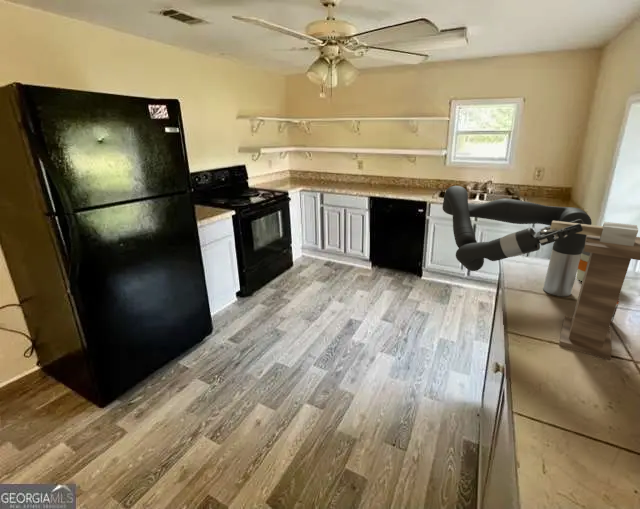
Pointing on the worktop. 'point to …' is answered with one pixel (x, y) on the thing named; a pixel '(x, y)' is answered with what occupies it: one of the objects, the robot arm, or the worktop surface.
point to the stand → (598, 297)
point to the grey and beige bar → (606, 231)
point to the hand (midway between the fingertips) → (581, 224)
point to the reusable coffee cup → (582, 265)
